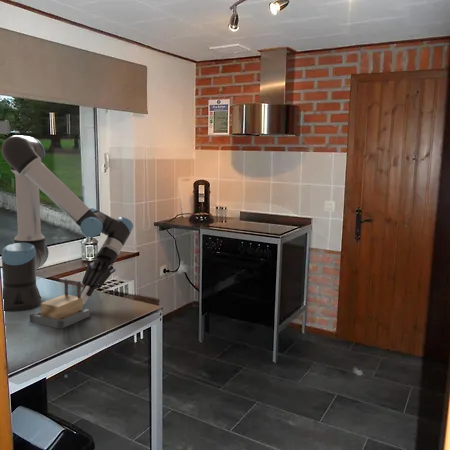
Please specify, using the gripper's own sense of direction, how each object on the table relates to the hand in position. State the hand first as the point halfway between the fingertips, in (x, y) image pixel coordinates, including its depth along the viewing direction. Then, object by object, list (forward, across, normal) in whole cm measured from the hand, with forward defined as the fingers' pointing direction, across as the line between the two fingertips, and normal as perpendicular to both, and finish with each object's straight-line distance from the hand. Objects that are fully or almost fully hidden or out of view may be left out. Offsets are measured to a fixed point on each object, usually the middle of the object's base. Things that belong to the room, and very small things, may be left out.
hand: (81, 302), depth 172 cm
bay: (+9, 0, +5) cm, 10 cm away
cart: (+9, 0, +5) cm, 10 cm away
